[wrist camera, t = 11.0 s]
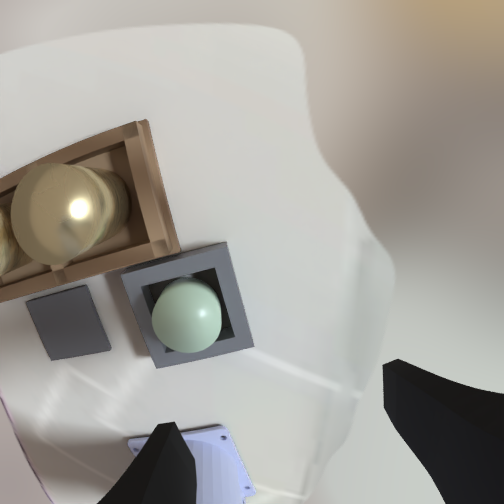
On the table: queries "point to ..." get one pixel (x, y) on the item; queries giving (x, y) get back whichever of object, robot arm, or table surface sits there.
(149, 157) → the brown wooden tray
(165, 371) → the table surface
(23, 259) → the cylinder
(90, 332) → the mat
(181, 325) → the button
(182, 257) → the button housing
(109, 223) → the brass round-topped piece
